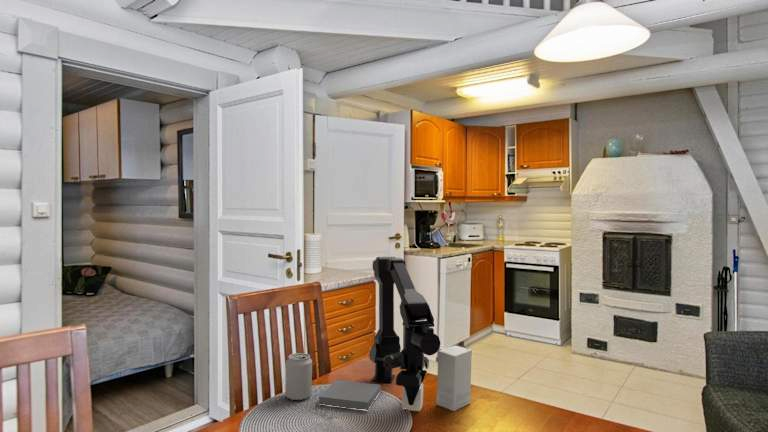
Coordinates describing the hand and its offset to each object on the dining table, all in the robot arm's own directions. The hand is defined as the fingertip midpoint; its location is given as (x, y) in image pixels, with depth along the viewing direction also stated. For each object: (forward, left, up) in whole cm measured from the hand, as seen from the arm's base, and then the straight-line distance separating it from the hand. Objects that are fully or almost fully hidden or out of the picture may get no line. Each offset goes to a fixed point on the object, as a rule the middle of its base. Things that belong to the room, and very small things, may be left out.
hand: (412, 401), depth 129 cm
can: (+3, -33, -2) cm, 33 cm away
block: (0, 0, -2) cm, 2 cm away
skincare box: (-5, +11, -2) cm, 12 cm away
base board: (0, -18, -2) cm, 18 cm away
